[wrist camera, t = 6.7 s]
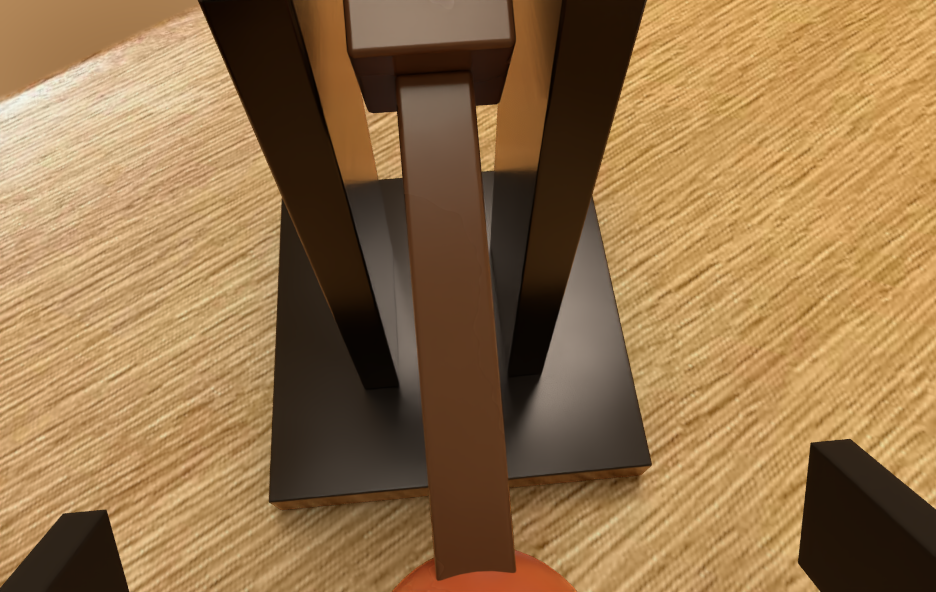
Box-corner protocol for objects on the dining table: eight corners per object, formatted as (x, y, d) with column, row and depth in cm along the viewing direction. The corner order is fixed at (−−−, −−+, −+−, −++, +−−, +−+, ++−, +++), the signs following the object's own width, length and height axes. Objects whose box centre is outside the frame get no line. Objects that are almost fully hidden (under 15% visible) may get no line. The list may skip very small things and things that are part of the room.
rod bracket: (642, 475, 18) (995, 151, 6) (280, 510, 18) (-136, 240, 6) (580, 185, 23) (709, -337, 11) (290, 207, 22) (74, -308, 10)
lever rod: (593, 720, 11) (665, 910, 7) (379, 744, 11) (350, 949, 7) (523, -43, 12) (560, -207, 8) (318, -29, 11) (261, -191, 8)
